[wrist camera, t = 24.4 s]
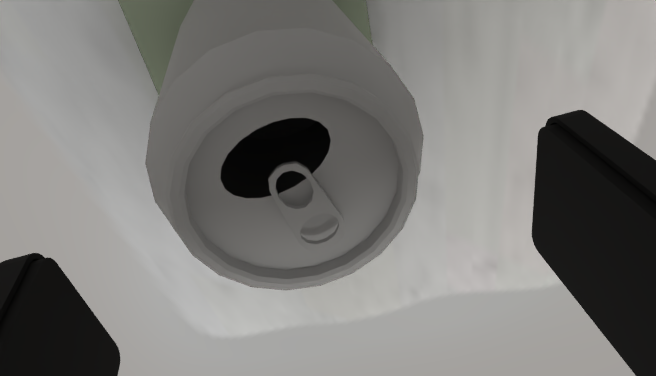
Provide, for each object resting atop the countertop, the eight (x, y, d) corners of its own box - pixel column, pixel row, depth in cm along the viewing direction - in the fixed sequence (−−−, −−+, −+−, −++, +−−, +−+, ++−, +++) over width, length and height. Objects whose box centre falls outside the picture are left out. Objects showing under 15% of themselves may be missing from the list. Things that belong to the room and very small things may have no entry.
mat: (96, -62, 19) (92, -60, 18) (343, -123, 19) (346, -123, 19) (201, 188, 25) (201, 194, 25) (384, 139, 26) (387, 144, 25)
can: (295, -74, 19) (371, -25, 9) (373, 81, 23) (484, 231, 13) (140, 24, 20) (57, 165, 10) (241, 157, 24) (252, 350, 14)
